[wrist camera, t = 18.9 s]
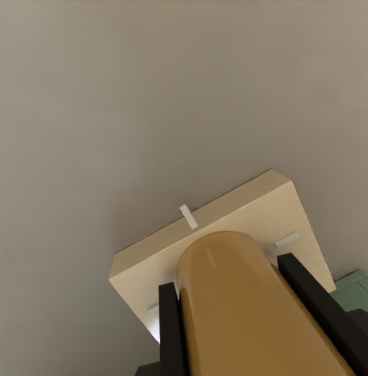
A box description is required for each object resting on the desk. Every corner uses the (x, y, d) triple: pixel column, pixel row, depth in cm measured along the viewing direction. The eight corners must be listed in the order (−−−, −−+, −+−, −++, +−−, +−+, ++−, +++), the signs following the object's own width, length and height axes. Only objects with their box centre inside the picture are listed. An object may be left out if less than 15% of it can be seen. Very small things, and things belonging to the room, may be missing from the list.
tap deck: (176, 336, 19) (179, 371, 16) (98, 233, 16) (87, 258, 13) (313, 265, 18) (339, 291, 16) (260, 143, 15) (282, 151, 13)
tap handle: (232, 322, 16) (318, 566, 8) (157, 288, 15) (162, 538, 6) (285, 257, 15) (454, 456, 6) (210, 214, 13) (303, 394, 5)
